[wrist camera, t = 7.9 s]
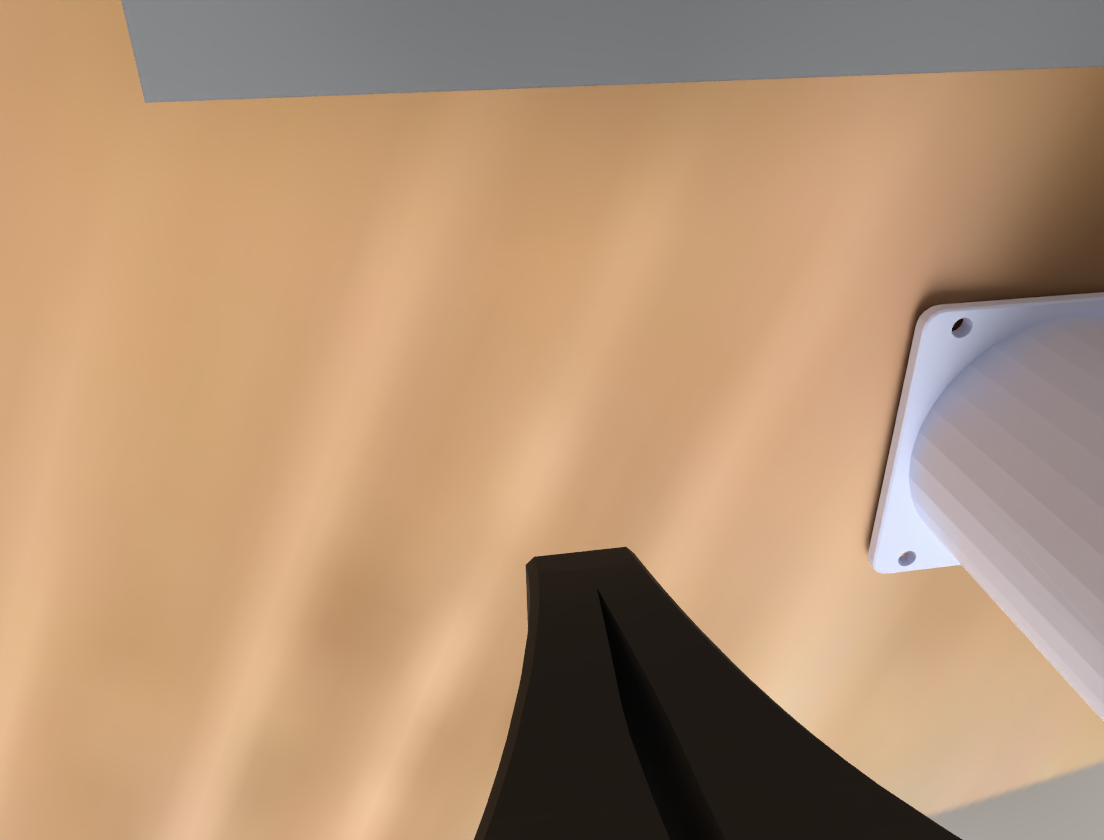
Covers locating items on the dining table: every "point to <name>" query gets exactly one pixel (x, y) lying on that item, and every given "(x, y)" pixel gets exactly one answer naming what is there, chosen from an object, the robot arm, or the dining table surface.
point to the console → (583, 42)
